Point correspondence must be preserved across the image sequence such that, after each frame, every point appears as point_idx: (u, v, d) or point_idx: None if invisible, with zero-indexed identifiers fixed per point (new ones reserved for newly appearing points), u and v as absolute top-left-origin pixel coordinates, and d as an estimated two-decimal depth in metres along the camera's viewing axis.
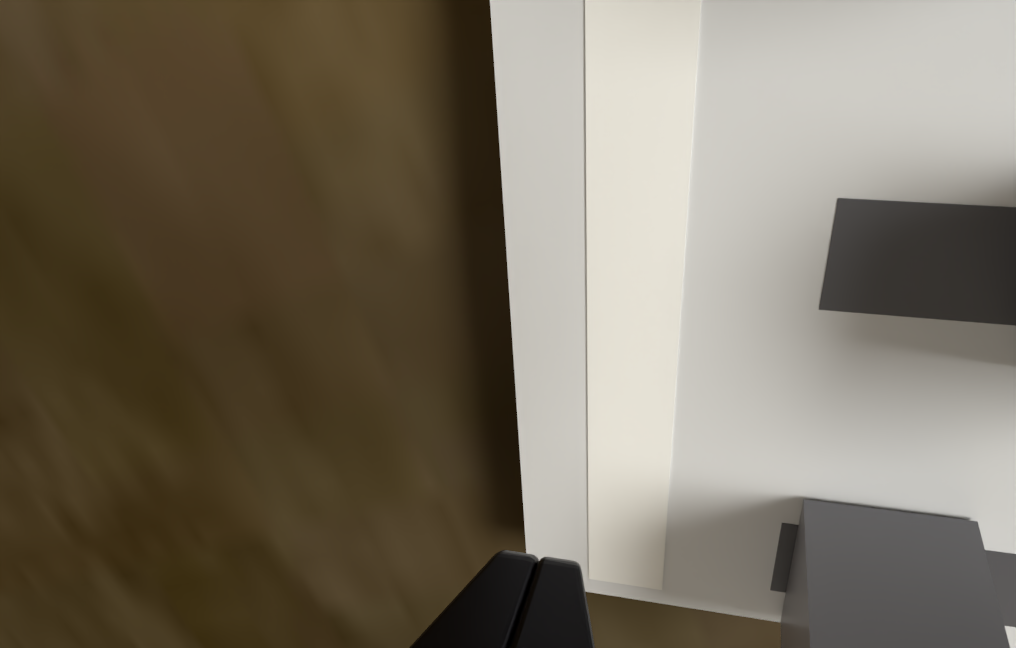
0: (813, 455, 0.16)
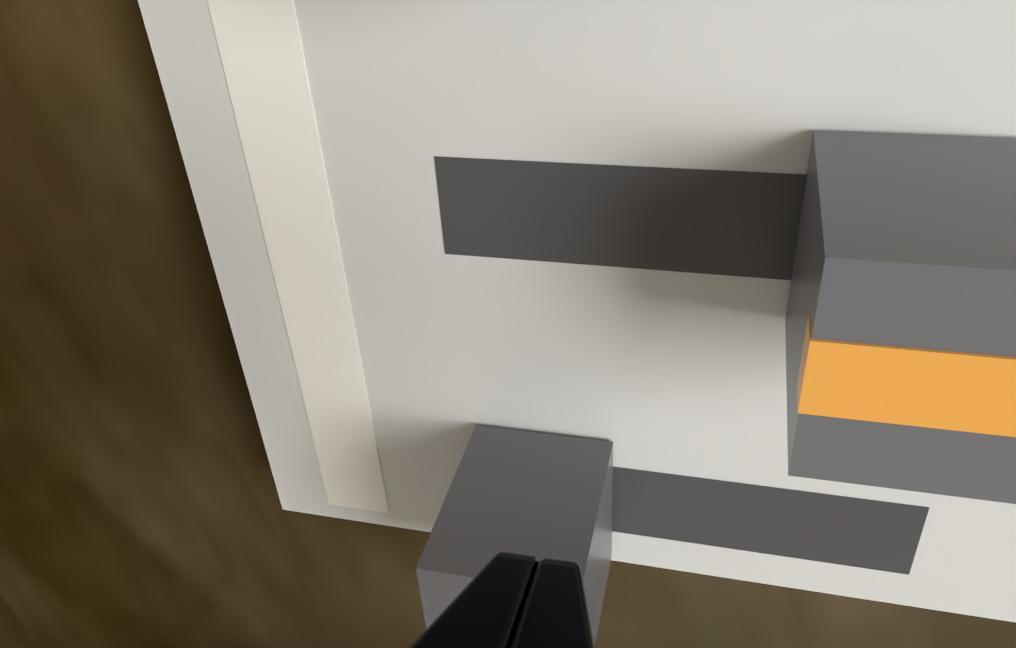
0: (475, 384, 0.18)
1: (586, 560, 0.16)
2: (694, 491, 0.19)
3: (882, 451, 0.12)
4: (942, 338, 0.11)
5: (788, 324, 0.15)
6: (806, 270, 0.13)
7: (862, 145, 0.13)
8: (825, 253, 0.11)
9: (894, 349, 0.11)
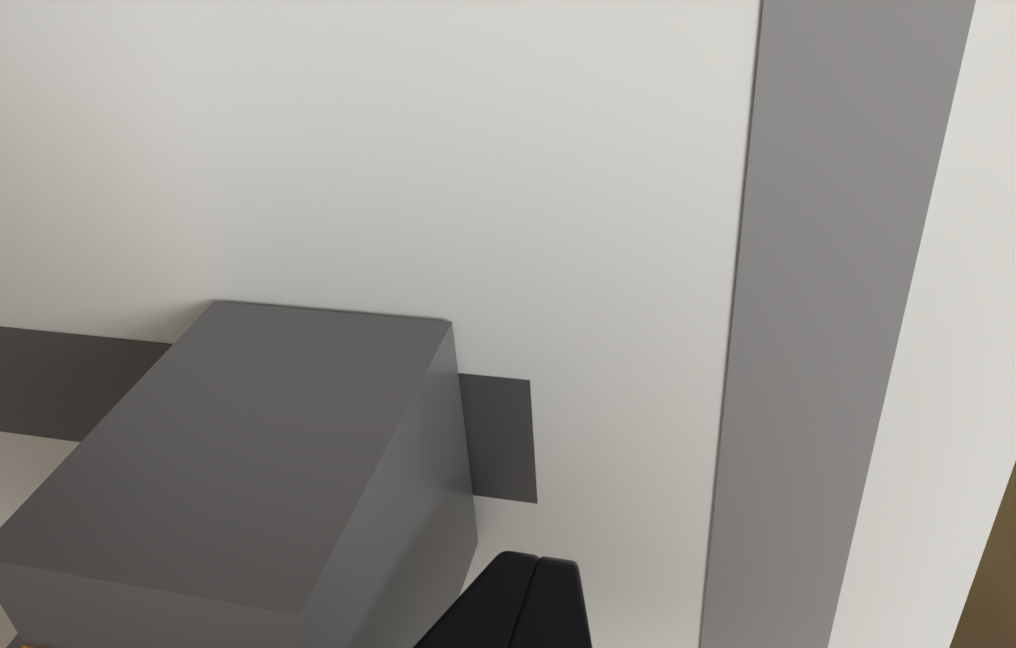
0: None
1: None
2: None
3: None
4: None
5: None
6: None
7: (243, 331, 0.10)
8: None
9: None
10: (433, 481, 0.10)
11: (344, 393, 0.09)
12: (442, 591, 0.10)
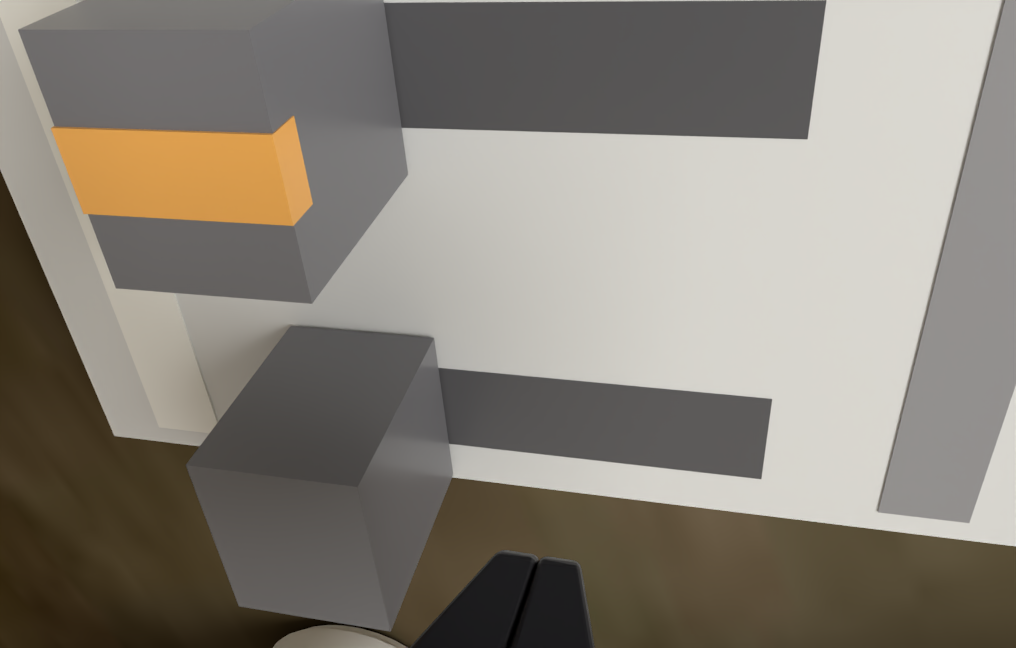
0: None
1: (374, 452, 0.14)
2: (527, 392, 0.17)
3: (175, 252, 0.12)
4: (155, 115, 0.10)
5: None
6: None
7: None
8: (25, 27, 0.10)
9: (121, 131, 0.11)
10: (361, 65, 0.13)
11: None
12: (373, 173, 0.13)
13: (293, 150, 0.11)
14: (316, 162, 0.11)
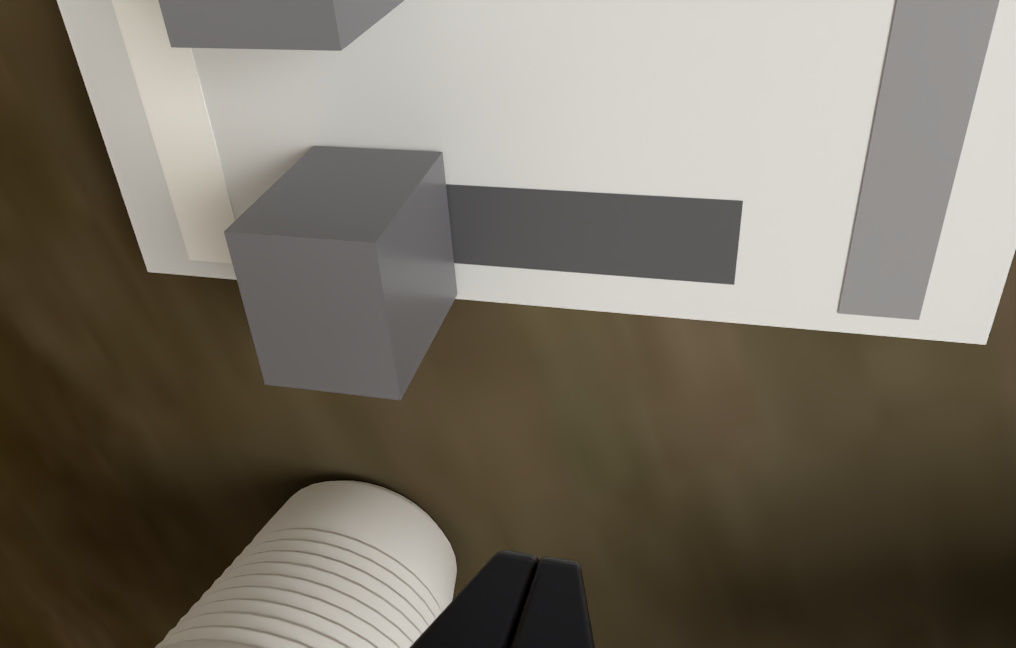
0: (308, 99, 0.19)
1: (390, 222, 0.16)
2: (525, 206, 0.19)
3: (224, 6, 0.14)
4: None
5: None
6: None
7: None
8: None
9: None
10: None
11: None
12: None
13: None
14: None
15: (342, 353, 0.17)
